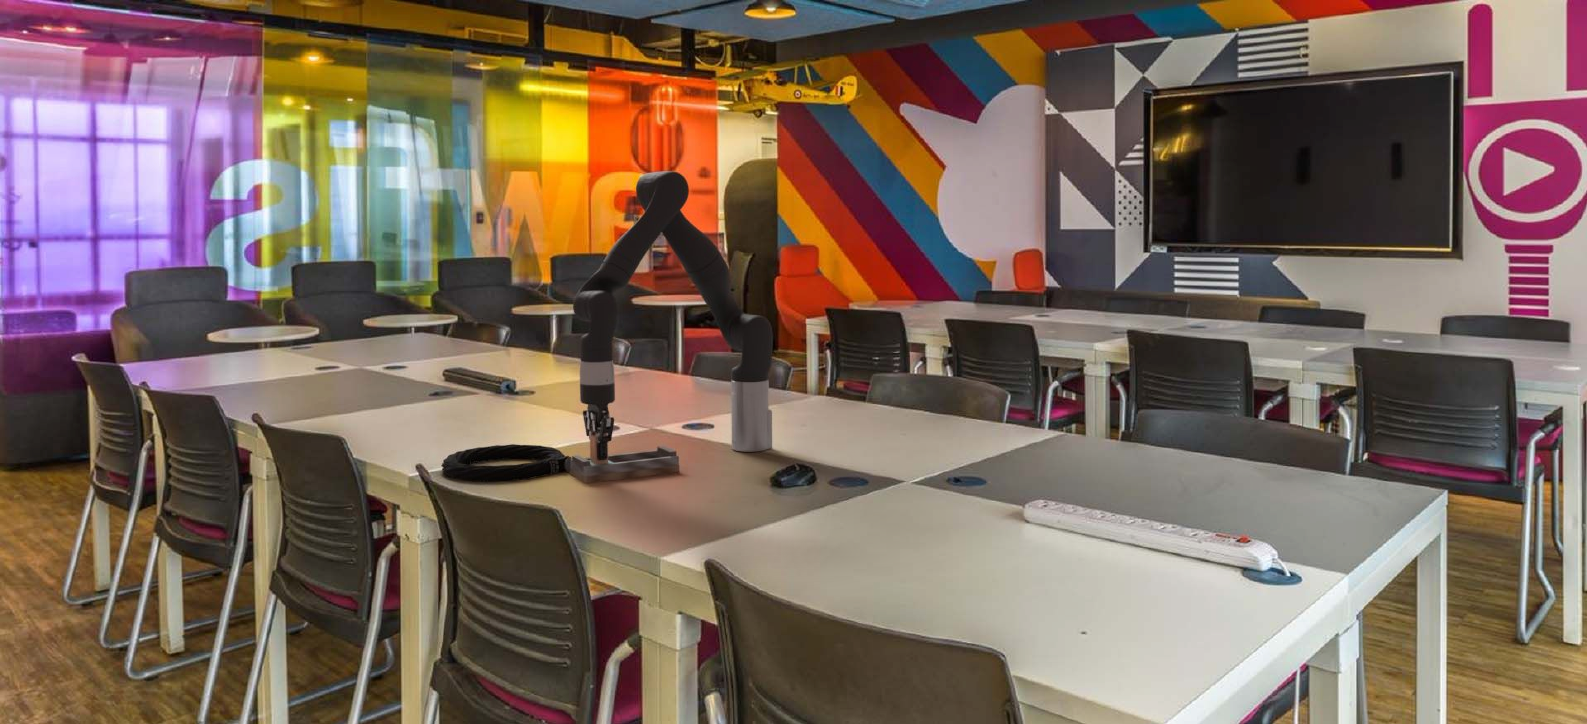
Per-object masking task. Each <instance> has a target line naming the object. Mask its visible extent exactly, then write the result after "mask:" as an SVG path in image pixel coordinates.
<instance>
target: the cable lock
mask: <svg viewBox="0 0 1587 724" xmlns="http://www.w3.org/2000/svg"><path fill="white" fill-rule="evenodd" d="M508 459H509V460H510V459H511V460H512V459H514V460H524V459H525V460H533V462H524V463H518V464H502V465H476V464H475V465H474V464H473V463H481V462H487V461H495V460H498V461H499V460H508ZM570 459H572V456H569V455H565V454H564V453H563V452H562V451H561V450H560V449H557V448H554V447H552V446H551V447H550V446H544V445H536V444H534V445H533V444H515V443H513V444H504V445H503V444H502V445H499V444H498V445H497V444H495V445H490V446H483V447H479V446H477V447H474V448H469V449H465V450H460V451H459V450H458V451H456V452H454V453H451V454H449V455H448V456H447V457H446V458H444V459H443V461H442V463H441V465H440V466H441V467H442V469H441V471H442V472H443V473H444V474H445V475H446V476H447V477H451V478H453V479H455V480H463V481H468V482H506V481H507V482H509V481H518V480H519V481H520V480H526V479H533V478H539V477H540V478H541V477H543V476H546V475H549V476H551V475H555V474H558V473H559V474H564V473H570V468H571V463H570ZM534 460H536V461H534Z"/></svg>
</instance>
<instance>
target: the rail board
mask: <svg viewBox="0 0 1587 724" xmlns="http://www.w3.org/2000/svg"><path fill="white" fill-rule="evenodd" d="M656 448H657V449H652V450H642V451H636V452H635V451H634V452H633V451H632V452H624V453H616V454H608V460H609V461H611V462H613V463H608V464H599V465H591V466H590V461H589V460H591V459H590V456H588V457H583V456H581V455H579V454H576V455H572V456H571V458H572V459H570V463H571V468H570V472H569V473H570V476H571V477H574V478H576V479H578V480H579V481H581V482H583V483H584V484H593V483H600V482H608V481H615V480H616V481H618V480H625V479H632V478H642V477H650V476H657V475H665V474H666V475H667V474H674V473H680V457H679V456H678V455H677V450H675V449H671V448H670V447H667V446H664V445H661V446H659V445H658V446H656Z"/></svg>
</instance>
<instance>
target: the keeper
mask: <svg viewBox="0 0 1587 724" xmlns="http://www.w3.org/2000/svg"><path fill="white" fill-rule="evenodd" d="M589 453H590V455H589V457H590V459H591V460H589V461H590V466H591V465H599V464H608V463H613V462H611V461H609V460H608V455H609V442H608V443H607V459H606V460H598V459H597V442H596V435H590V440H589Z"/></svg>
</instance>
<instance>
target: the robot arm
mask: <svg viewBox="0 0 1587 724" xmlns="http://www.w3.org/2000/svg"><path fill="white" fill-rule="evenodd" d="M689 189H690V188H689V184H688V181H687V179H686V177H685V176H684V175H682V174H681V173H680V172H678V171H675V170H666V171H665V170H664V171H663V170H662V171H654V172H647V173H644V174H642V175H641V176H640V177H639V178H638V180H637V182H636V186H635V193H636V194H635V195H636V197H637V201H638V203H639V204H640V206H641V208H642V209H643V211H644V212H643V214H642V215H641V216H640V217H639V218H638V220H636V222H635V223H634V224H633V225H632V226H631V227H629V229H628V230H627V231H626V232H624V233H623V234H622V235H621V236H620V237H619V238H618V240H617V241H616V242H614V244H613V245H612V246H611V248H610V249H609V251H608V253H607V254H606V257H605V258H604V259H603V261H602V262H601V265H600V267H599V269H598V270H596V272H594V273H593V274H592V275H591V276H590V277H589V278H588V280H587V281H586V282H585V283H584V284H583V285H582V286H581V287H580V288H579V290H578V291H577V293H576V295H575V297H574V300H573V304H572V310H573V313H574V315H575V317H576V318H577V319H579V320H580V321H583V322H588V323H590V324H589V330H588V333H585V334H584V335H583V334H582V336H581V337H580V342H579V350H580V351H579V352H580V353H579V354H580V364H579V396H580V398H579V399H580V401H579V402H580V403H582V404H584V405H587V406H586V407H587V409H585V410H583V411H582V417H583V423H584V429H585V434H586V437H588V439H589V441H590V435H596V442H597V459H598V460H606V459H607V443H608V444H609V442H611V441H612V438H613V433H614V432H613V431H614V426H615V425H614V424H615V418H614V416H613V417H611V416H610V413H611V412H610V410H609V405H610V404H612V403H614V402H615V401H616V388H615V387H616V384H615V382H616V381H615V378H616V377H615V367H614V360H613V359H614V351H613V346H614V344H613V340H614V337H615V333H616V328H617V323H618V318H619V304H618V301H617V299H616V297H615V295H614V293H615V292H617V291H620V290H623V289H625V287H626V286H627V285H628V283H629V282H630V280H631V279H632V277H633V275H634V274H635V272H636V271H637V268H638V267H639V265H640V263H641V262H642V261H643V259H644V257H645V255H646V254H647V253H648V251H649V250H650V248H651V247H652V245H653V244H654V243H655V241H657V239H658V238H659V237H660V235H661V234H662V236H663V237H664V238H665V240H666V241H667V244H668V245H669V247H670V248H671V250H672V251H673V253H674V254H675V256H676V257H677V259H678V260H679V263H680V264H681V266H682V267H683V269H684V271H685V273H686V274H687V275H688V277H689V278H690V281H691V282H692V283H693V285H694V286H695V287H696V289H697V291H698V293H699V294H700V296H701V298H702V299H703V301H704V302H705V305H706V306H707V308H708V309H709V310H710V313H711V314H712V316H713V318H714V321H715V323H716V324H717V327H718V329H719V331H720V333H721V336H722V338H723V339H724V341H725V342H726V344H727V345H728V346H729V347H730V348H731V349H733V350H735V351H738V352H742V353H741V361H740V362H739V364H738V365H737V366H734V367H732V368H731V371H730V393H731V394H730V396H731V397H730V399H731V400H730V401H731V407H730V408H731V413H730V414H731V416H730V417H731V419H730V420H731V449H732V450H734V451H738V452H743V453H744V452H746V453H747V452H749V453H751V452H754V453H755V452H762V451H767V450H770V449H773V410H772V409H769V407H770V406H769V405H770V402H769V400H770V397H769V394H770V393H769V385H770V384H769V376H770V375H769V374H770V371H771V369H772V364H773V346H774V343H773V341H774V340H773V339H774V338H773V333H774V332H773V329H772V325H771V322H770V320H768V318H766V317H765V316H763V315H759V314H758V315H756V314H748V313H745V312H744V311H743V310H742V308H741V307H740V306H739V304H738V302H737V301H736V299H735V297H734V295H733V293H732V287H731V274H730V268H729V266H728V263H727V262H726V260H725V259H724V257H723V255H722V253H721V252H720V250H719V248H718V247H717V245H716V244H715V242H713V240H712V239H710V238H709V236H707V235H706V234H704V233H703V232H702V230H700V229H698V228H697V227H696V226H695V225H694V224H693V223H692V222H690V221H689V219H687V218H686V216H685V215H684V213H683V212H682V209H683V207H684V206H685V204H686V203H687V202H688V198H689V192H690V190H689Z"/></svg>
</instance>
